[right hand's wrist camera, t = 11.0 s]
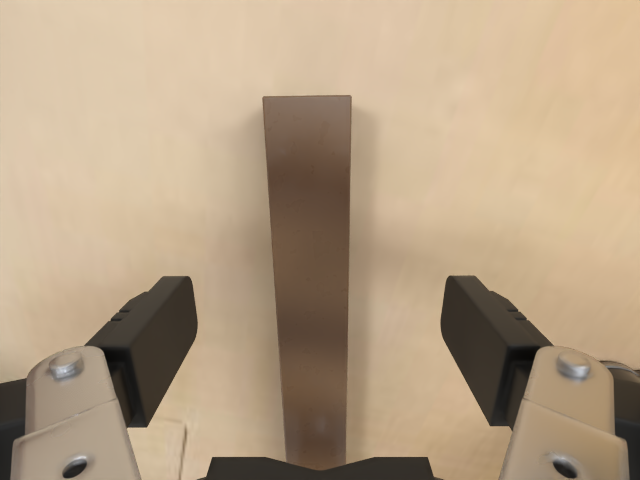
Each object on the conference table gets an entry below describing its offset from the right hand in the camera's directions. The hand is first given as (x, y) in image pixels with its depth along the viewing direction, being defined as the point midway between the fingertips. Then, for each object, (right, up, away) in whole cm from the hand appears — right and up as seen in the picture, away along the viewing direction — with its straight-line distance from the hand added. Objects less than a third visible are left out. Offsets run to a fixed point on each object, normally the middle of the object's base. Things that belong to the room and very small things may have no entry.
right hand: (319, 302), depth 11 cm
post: (0, -21, +26) cm, 33 cm away
